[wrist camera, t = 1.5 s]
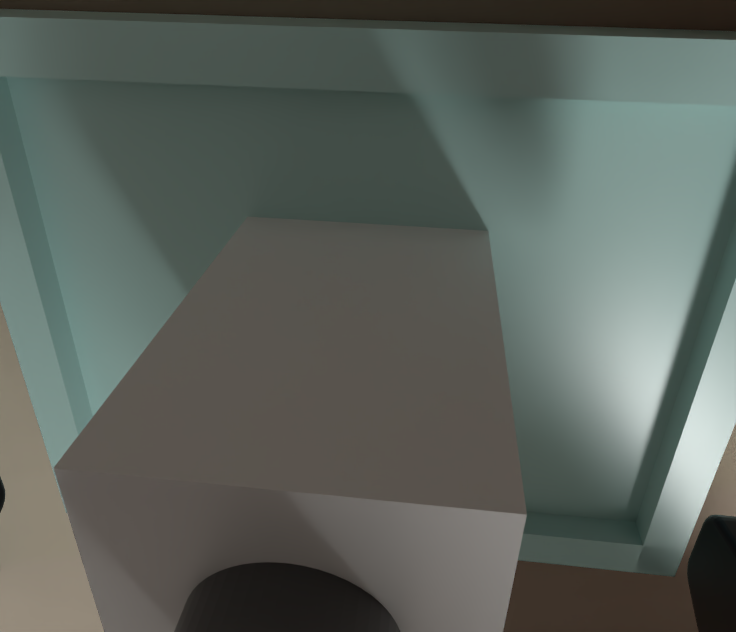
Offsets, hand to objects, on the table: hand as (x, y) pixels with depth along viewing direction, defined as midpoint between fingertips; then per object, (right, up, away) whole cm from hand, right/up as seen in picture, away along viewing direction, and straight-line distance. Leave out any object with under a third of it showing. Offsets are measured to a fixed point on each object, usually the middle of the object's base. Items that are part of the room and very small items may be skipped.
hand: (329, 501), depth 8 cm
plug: (0, +2, +3) cm, 4 cm away
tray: (0, +2, +4) cm, 5 cm away
